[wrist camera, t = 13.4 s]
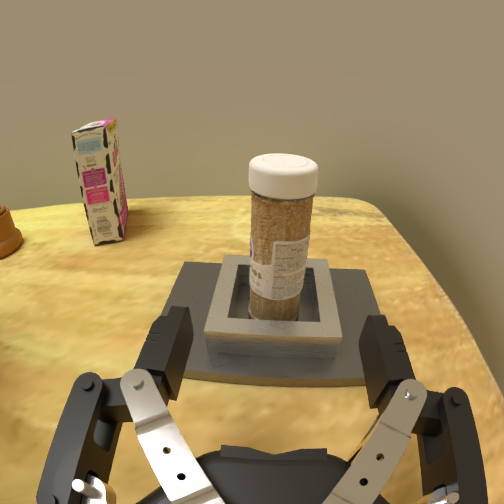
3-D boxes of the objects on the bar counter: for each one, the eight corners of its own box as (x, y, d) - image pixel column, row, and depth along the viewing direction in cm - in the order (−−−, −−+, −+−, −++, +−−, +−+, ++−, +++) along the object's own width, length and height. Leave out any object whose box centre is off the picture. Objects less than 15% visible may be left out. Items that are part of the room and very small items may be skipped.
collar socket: (145, 371, 21) (132, 342, 19) (186, 270, 33) (181, 242, 31) (393, 383, 20) (410, 355, 18) (362, 278, 32) (369, 250, 30)
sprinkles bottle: (242, 300, 27) (241, 153, 20) (289, 292, 28) (302, 151, 21) (256, 336, 23) (260, 171, 16) (307, 325, 24) (331, 168, 17)
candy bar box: (126, 241, 39) (105, 124, 30) (93, 247, 37) (68, 133, 29) (130, 209, 48) (116, 116, 39) (103, 214, 46) (87, 122, 37)
